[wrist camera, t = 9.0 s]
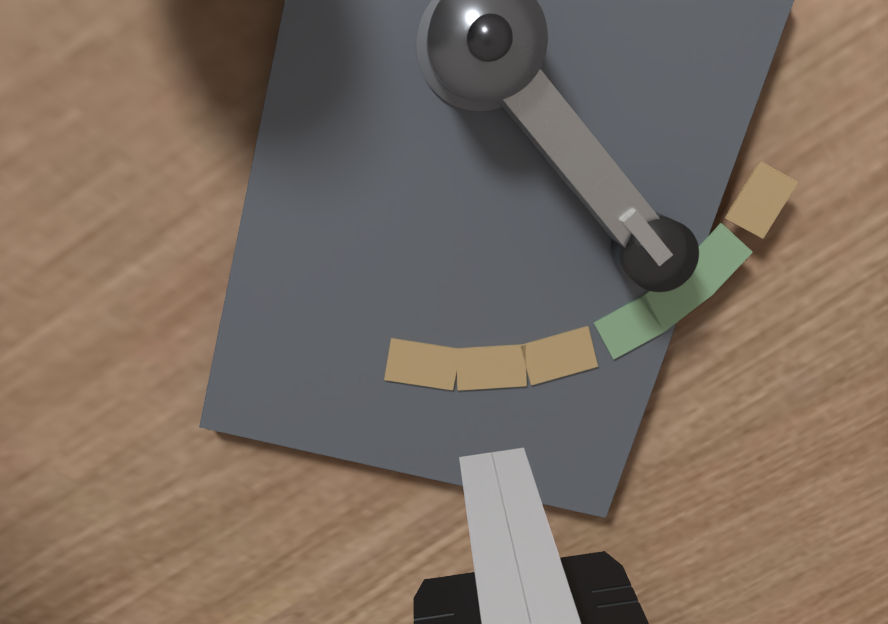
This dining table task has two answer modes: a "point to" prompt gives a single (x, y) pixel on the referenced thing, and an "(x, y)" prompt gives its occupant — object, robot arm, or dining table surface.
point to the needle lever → (555, 129)
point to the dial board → (478, 239)
